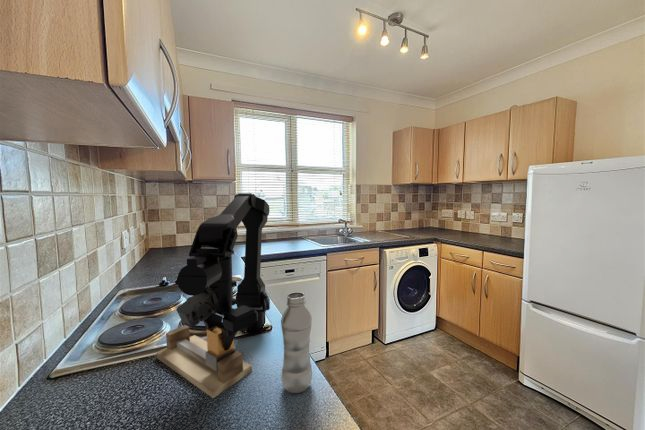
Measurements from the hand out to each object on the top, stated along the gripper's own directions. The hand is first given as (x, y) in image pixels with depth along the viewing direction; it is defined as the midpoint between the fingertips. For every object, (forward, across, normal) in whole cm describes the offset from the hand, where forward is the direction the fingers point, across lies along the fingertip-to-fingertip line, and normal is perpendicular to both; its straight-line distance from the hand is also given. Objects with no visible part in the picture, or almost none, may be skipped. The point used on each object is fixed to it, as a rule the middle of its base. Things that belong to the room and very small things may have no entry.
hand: (220, 346), depth 59 cm
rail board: (+7, -8, 0) cm, 10 cm away
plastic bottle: (+7, +16, +7) cm, 19 cm away
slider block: (+4, 0, 0) cm, 4 cm away
